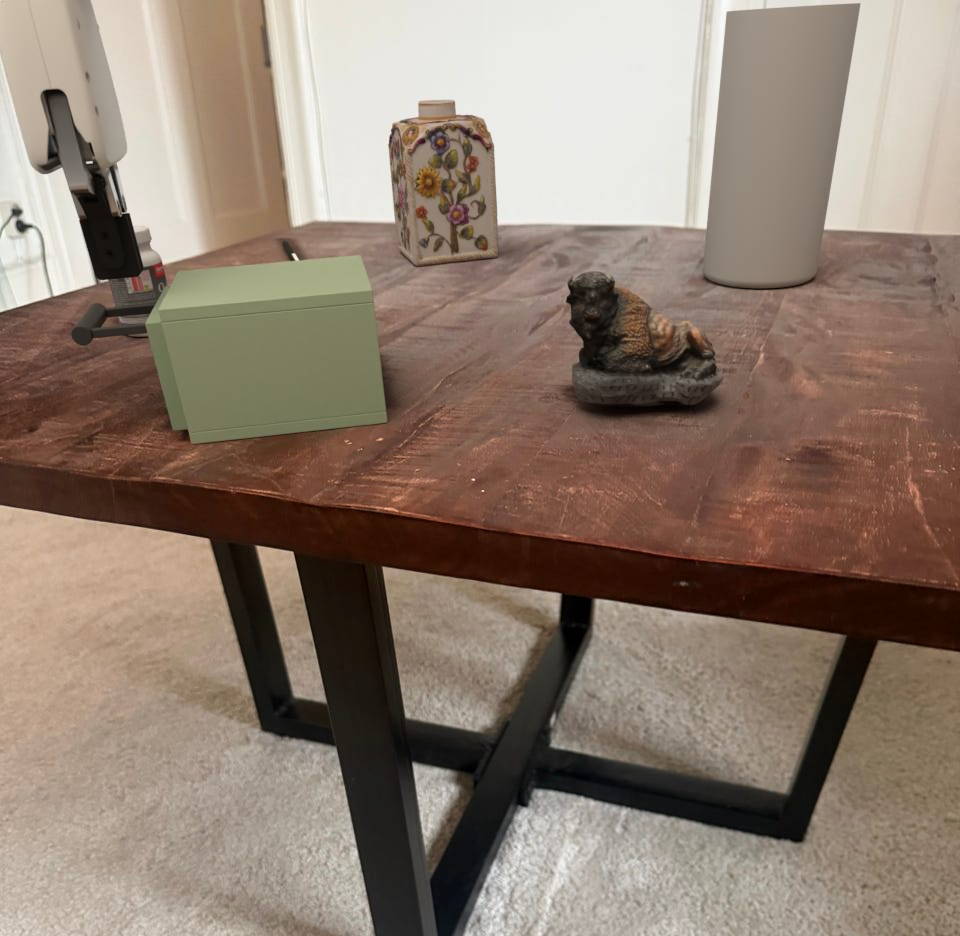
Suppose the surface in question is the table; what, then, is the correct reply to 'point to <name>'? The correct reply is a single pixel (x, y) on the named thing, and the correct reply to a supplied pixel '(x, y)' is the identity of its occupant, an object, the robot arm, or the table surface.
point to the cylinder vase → (776, 142)
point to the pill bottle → (140, 281)
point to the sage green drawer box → (274, 348)
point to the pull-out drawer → (99, 313)
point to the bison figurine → (635, 349)
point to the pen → (290, 251)
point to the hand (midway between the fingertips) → (120, 275)
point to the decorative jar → (443, 186)
